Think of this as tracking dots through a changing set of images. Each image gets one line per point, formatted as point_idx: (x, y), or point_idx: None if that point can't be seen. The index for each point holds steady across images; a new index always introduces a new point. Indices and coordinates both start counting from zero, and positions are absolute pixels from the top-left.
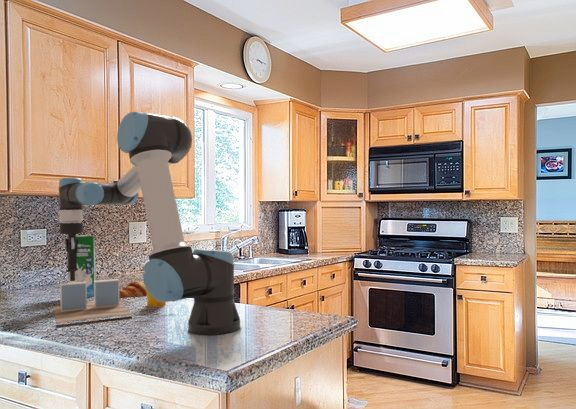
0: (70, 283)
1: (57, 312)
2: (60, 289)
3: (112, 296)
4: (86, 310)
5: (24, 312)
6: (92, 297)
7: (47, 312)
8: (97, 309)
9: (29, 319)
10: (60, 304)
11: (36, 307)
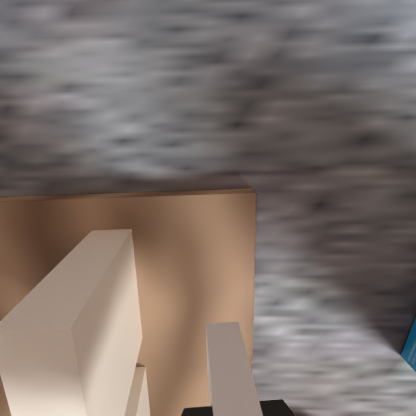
0: (34, 409)
1: (81, 214)
2: (38, 299)
3: None
4: None
5: (307, 40)
6: (412, 360)
7: (235, 161)
8: None
9: (94, 72)
10: (119, 241)
11: (409, 104)
